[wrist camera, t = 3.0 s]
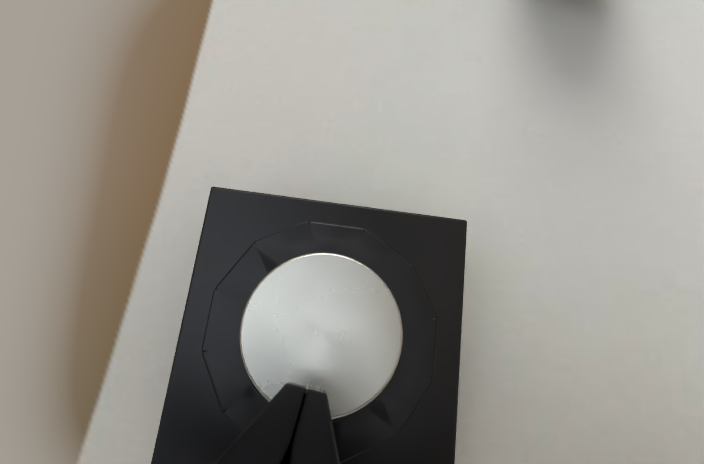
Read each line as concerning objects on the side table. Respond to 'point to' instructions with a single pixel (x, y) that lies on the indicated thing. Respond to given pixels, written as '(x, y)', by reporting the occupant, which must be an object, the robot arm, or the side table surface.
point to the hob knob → (322, 331)
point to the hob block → (280, 246)
